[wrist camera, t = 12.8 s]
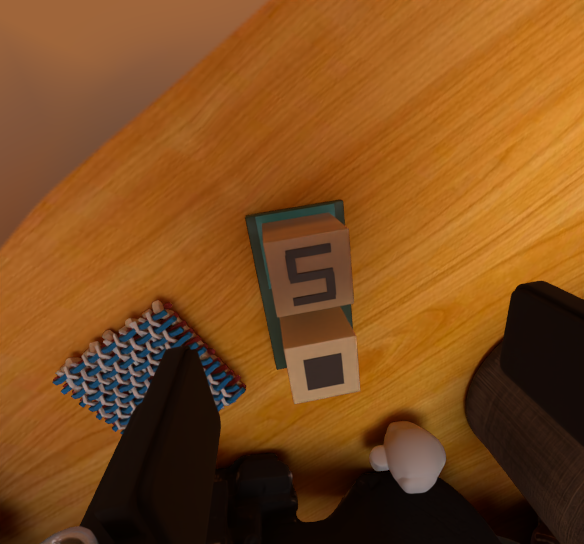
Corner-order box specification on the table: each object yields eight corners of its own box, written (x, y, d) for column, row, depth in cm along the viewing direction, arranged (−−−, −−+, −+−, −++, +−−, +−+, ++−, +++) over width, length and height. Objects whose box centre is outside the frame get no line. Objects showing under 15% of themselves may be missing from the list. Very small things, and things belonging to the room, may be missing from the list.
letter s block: (261, 223, 19) (262, 243, 15) (329, 212, 19) (349, 228, 15) (273, 285, 21) (277, 319, 17) (335, 274, 21) (354, 304, 17)
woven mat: (53, 364, 22) (35, 383, 20) (166, 289, 21) (157, 303, 19) (152, 440, 26) (144, 463, 24) (252, 381, 25) (251, 400, 23)
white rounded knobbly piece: (434, 411, 26) (429, 433, 32) (359, 420, 27) (367, 440, 33) (460, 486, 22) (449, 496, 28) (372, 493, 24) (379, 501, 29)
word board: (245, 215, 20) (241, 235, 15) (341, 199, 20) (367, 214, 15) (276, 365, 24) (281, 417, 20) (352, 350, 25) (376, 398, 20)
